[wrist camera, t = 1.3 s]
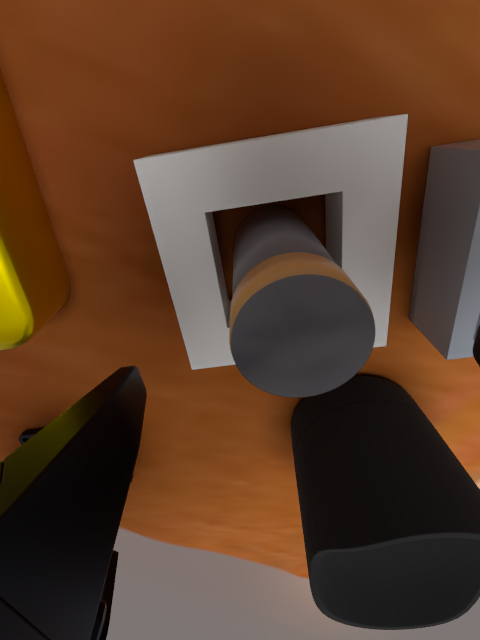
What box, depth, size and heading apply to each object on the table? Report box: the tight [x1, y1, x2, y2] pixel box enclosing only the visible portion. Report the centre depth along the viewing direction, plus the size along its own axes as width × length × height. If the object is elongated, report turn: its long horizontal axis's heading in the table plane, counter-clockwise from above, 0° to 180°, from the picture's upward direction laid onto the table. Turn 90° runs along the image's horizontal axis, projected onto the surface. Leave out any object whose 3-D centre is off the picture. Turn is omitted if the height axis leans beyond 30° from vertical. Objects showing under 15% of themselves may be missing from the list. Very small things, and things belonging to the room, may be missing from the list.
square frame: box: [133, 114, 408, 370], centre depth 16 cm, size 10×10×3 cm
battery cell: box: [229, 206, 375, 398], centre depth 13 cm, size 4×4×9 cm
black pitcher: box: [291, 376, 480, 630], centre depth 19 cm, size 9×9×10 cm
